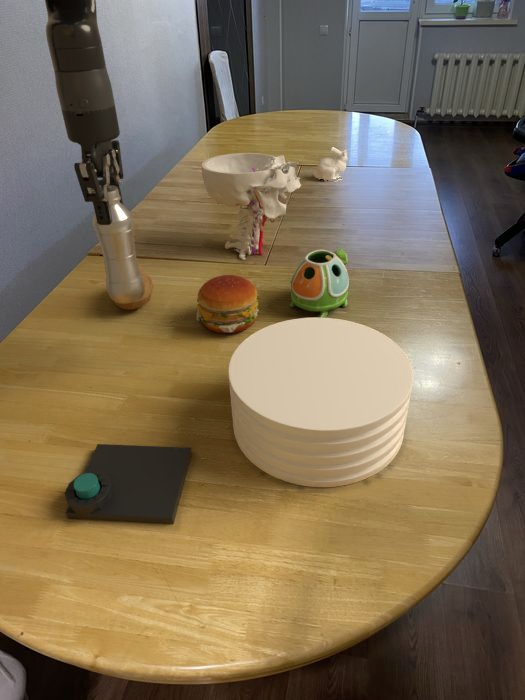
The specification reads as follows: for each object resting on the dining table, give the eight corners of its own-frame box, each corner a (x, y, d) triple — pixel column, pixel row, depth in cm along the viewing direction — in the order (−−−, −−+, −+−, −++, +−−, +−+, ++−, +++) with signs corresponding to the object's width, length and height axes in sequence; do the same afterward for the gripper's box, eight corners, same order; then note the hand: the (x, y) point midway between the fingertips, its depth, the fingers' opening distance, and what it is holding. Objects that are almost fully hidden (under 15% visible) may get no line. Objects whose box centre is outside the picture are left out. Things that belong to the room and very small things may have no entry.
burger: (262, 336, 107) (260, 294, 101) (196, 341, 106) (191, 299, 100) (257, 303, 118) (256, 263, 112) (198, 307, 117) (193, 267, 111)
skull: (207, 264, 135) (198, 176, 121) (211, 235, 150) (203, 154, 137) (303, 260, 135) (304, 171, 121) (297, 232, 150) (298, 150, 137)
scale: (63, 519, 72) (57, 505, 70) (96, 449, 82) (91, 436, 80) (173, 525, 70) (170, 511, 69) (192, 453, 81) (189, 440, 79)
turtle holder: (366, 291, 121) (371, 243, 114) (327, 326, 109) (329, 275, 102) (320, 277, 127) (322, 232, 120) (278, 310, 115) (278, 261, 108)
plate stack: (407, 498, 73) (419, 440, 66) (214, 475, 77) (207, 419, 70) (400, 375, 95) (408, 322, 88) (250, 363, 99) (248, 312, 93)
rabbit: (344, 175, 191) (347, 141, 184) (349, 183, 184) (351, 148, 177) (312, 176, 191) (313, 143, 184) (315, 185, 184) (316, 150, 177)
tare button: (72, 498, 71) (69, 490, 70) (81, 480, 74) (78, 472, 73) (95, 500, 71) (92, 491, 70) (103, 481, 73) (100, 473, 72)
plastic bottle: (118, 289, 96) (95, 181, 85) (152, 291, 95) (133, 182, 83) (103, 306, 91) (76, 194, 80) (139, 309, 90) (117, 196, 78)
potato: (154, 286, 126) (149, 256, 121) (157, 316, 115) (151, 284, 110) (113, 291, 124) (106, 261, 120) (112, 322, 113) (104, 290, 109)
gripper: (80, 95, 80) (103, 201, 90) (41, 115, 69) (72, 234, 79) (127, 94, 80) (145, 201, 90) (96, 114, 68) (121, 234, 78)
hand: (111, 216), depth 84 cm, fingers closed on plastic bottle, 5 cm apart
